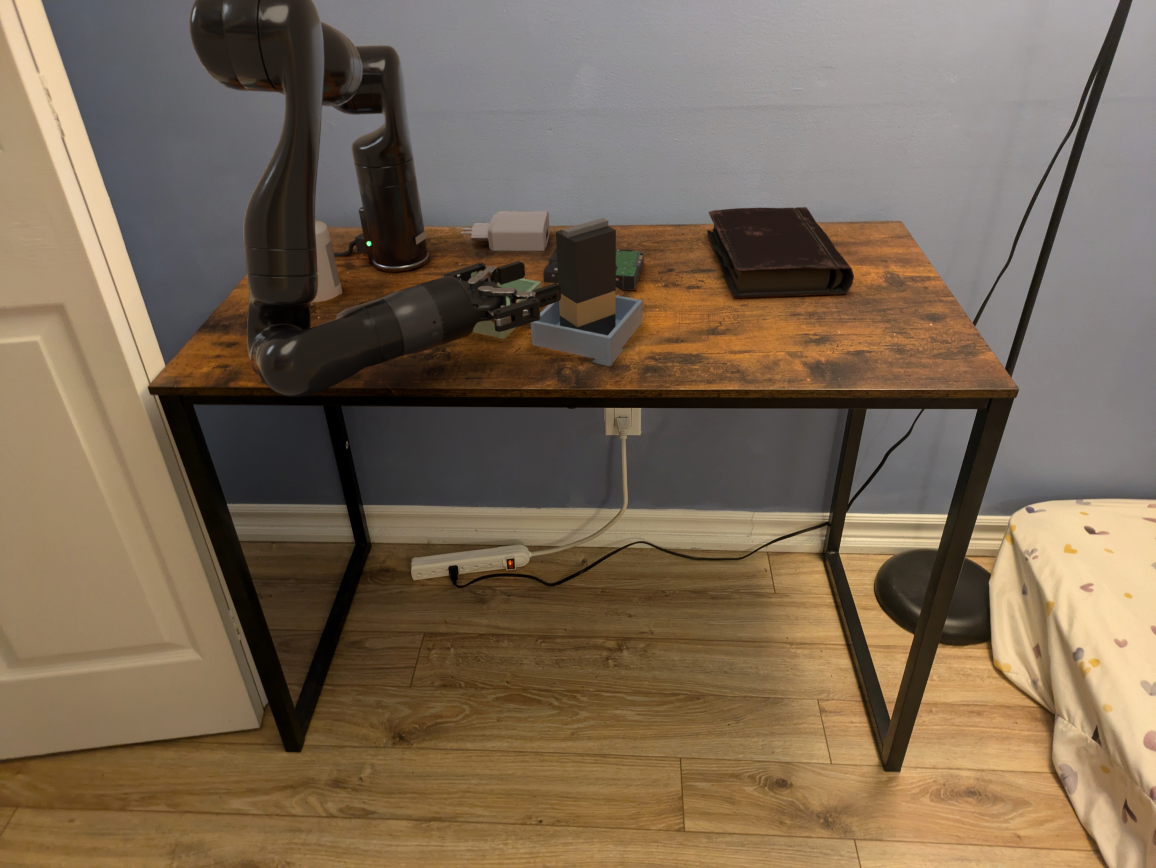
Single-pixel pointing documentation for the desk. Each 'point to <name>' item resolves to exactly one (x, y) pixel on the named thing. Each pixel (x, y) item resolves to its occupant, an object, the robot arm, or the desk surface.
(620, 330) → the right bin
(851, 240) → the desk surface
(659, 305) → the desk surface
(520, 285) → the left bin
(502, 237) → the charger
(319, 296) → the spray bottle
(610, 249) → the coffee bag
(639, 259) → the disk drive
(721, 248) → the diary
